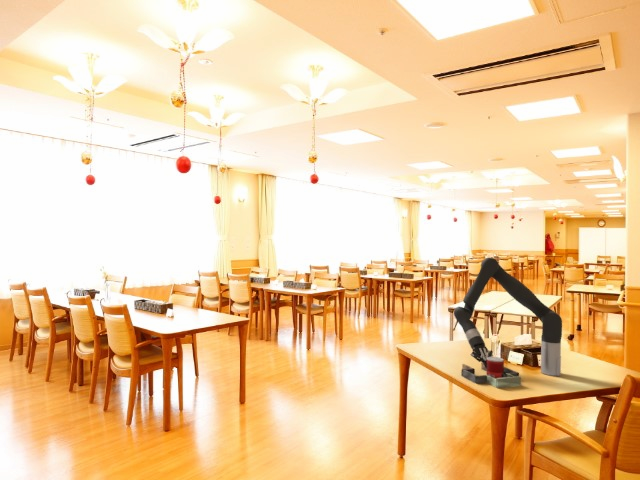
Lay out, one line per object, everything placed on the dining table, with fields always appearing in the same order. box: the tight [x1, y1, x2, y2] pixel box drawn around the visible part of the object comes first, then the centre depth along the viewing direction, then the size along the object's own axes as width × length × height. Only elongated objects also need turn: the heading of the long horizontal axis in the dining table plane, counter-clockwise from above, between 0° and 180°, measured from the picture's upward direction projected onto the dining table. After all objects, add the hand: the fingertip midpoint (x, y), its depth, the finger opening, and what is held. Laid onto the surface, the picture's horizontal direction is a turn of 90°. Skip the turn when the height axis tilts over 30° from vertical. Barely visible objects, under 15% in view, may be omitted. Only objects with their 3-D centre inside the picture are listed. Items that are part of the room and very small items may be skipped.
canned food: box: [486, 356, 505, 379], centre depth 215 cm, size 8×8×11 cm
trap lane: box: [460, 362, 522, 389], centre depth 218 cm, size 28×25×4 cm
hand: (489, 368), depth 219 cm, fingers closed
